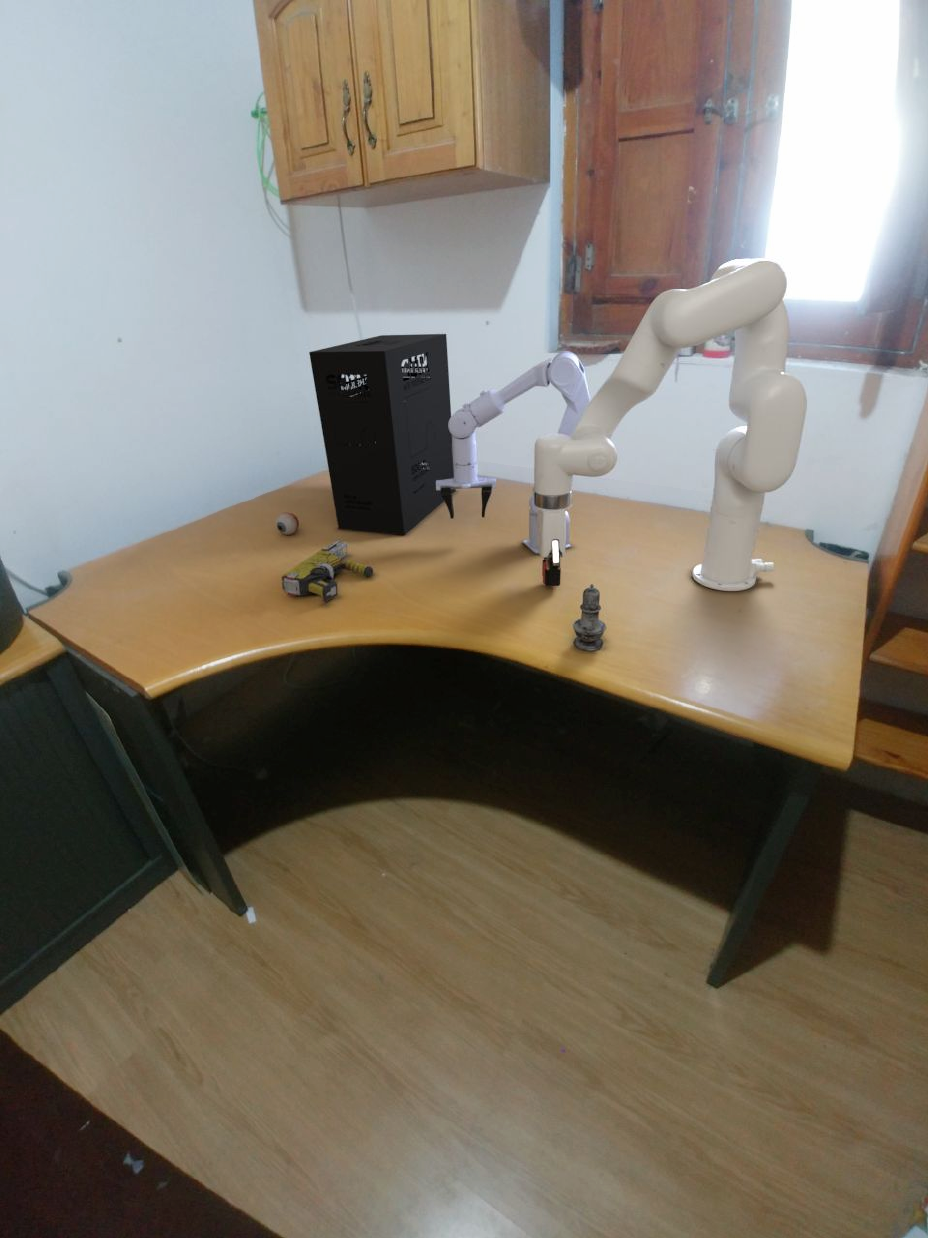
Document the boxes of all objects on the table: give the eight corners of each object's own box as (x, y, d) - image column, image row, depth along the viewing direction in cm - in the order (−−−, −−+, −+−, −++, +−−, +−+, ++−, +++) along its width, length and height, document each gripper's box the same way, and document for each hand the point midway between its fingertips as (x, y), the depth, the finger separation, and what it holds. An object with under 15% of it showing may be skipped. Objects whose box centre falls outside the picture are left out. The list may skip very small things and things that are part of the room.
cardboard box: (397, 486, 197) (381, 335, 174) (455, 490, 190) (446, 333, 168) (338, 528, 167) (309, 351, 144) (404, 535, 160) (384, 350, 137)
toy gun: (389, 548, 145) (334, 537, 149) (339, 588, 125) (277, 575, 129) (389, 566, 147) (335, 555, 151) (340, 608, 127) (279, 595, 131)
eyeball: (273, 537, 164) (268, 516, 161) (287, 528, 169) (282, 508, 166) (291, 539, 161) (286, 518, 158) (305, 530, 166) (301, 510, 163)
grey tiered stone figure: (604, 652, 107) (609, 592, 101) (571, 650, 108) (573, 591, 102) (604, 635, 112) (609, 577, 106) (572, 633, 113) (575, 575, 107)
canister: (539, 582, 130) (539, 564, 128) (548, 577, 132) (549, 558, 130) (553, 587, 128) (553, 568, 125) (562, 581, 130) (562, 562, 128)
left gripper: (433, 468, 140) (437, 523, 147) (495, 465, 139) (497, 521, 146) (435, 459, 146) (439, 513, 153) (495, 457, 145) (496, 511, 152)
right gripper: (530, 486, 128) (529, 565, 137) (538, 514, 113) (537, 600, 123) (565, 485, 128) (562, 564, 137) (578, 512, 113) (574, 598, 122)
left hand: (467, 516), depth 150 cm, fingers open, 7 cm apart
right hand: (551, 580), depth 130 cm, fingers closed on canister, 3 cm apart
